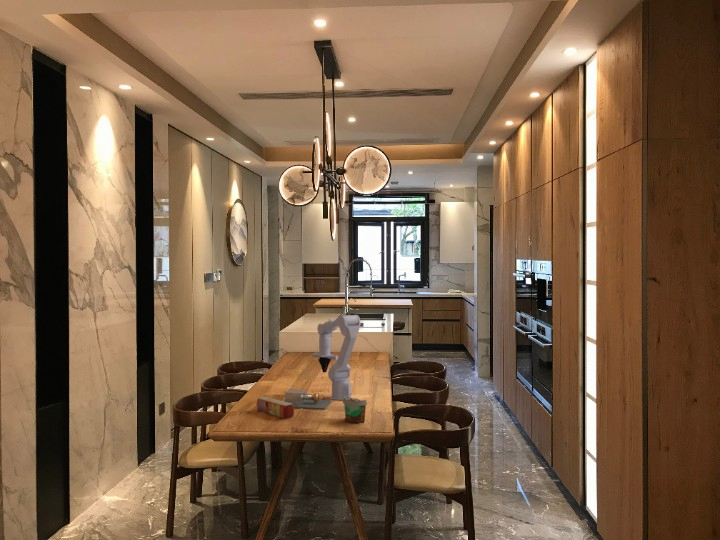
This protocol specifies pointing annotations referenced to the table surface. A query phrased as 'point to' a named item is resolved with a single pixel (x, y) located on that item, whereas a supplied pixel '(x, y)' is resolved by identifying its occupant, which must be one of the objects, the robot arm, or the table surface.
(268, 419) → the table surface
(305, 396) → the steel shaft
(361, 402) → the food container
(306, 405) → the slate base board
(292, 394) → the bearing housing
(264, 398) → the snack package
